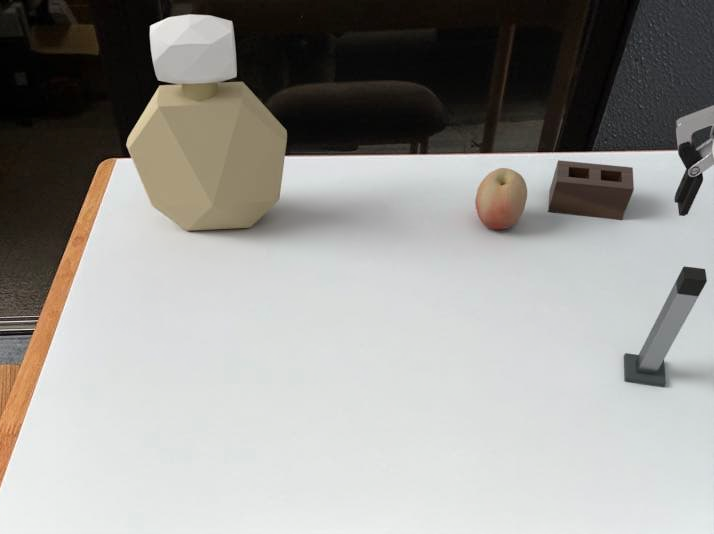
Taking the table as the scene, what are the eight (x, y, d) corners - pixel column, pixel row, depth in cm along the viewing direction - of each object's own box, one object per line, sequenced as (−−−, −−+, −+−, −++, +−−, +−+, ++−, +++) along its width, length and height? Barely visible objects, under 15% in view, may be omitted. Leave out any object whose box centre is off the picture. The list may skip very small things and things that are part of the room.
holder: (549, 190, 111) (558, 160, 107) (621, 197, 110) (632, 167, 105) (547, 211, 108) (556, 181, 104) (621, 219, 106) (634, 189, 102)
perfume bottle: (291, 236, 105) (282, 28, 82) (143, 243, 105) (91, 36, 82) (289, 196, 112) (280, -7, 89) (150, 203, 112) (103, 0, 89)
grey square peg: (654, 363, 86) (705, 268, 75) (655, 375, 85) (707, 281, 73) (635, 360, 87) (683, 266, 75) (635, 372, 85) (684, 278, 74)
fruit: (464, 231, 105) (473, 181, 99) (479, 206, 109) (488, 156, 102) (513, 242, 103) (525, 192, 97) (526, 216, 107) (539, 166, 100)
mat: (662, 361, 87) (664, 358, 87) (664, 387, 85) (666, 383, 84) (623, 356, 88) (625, 352, 88) (624, 381, 85) (626, 378, 85)
